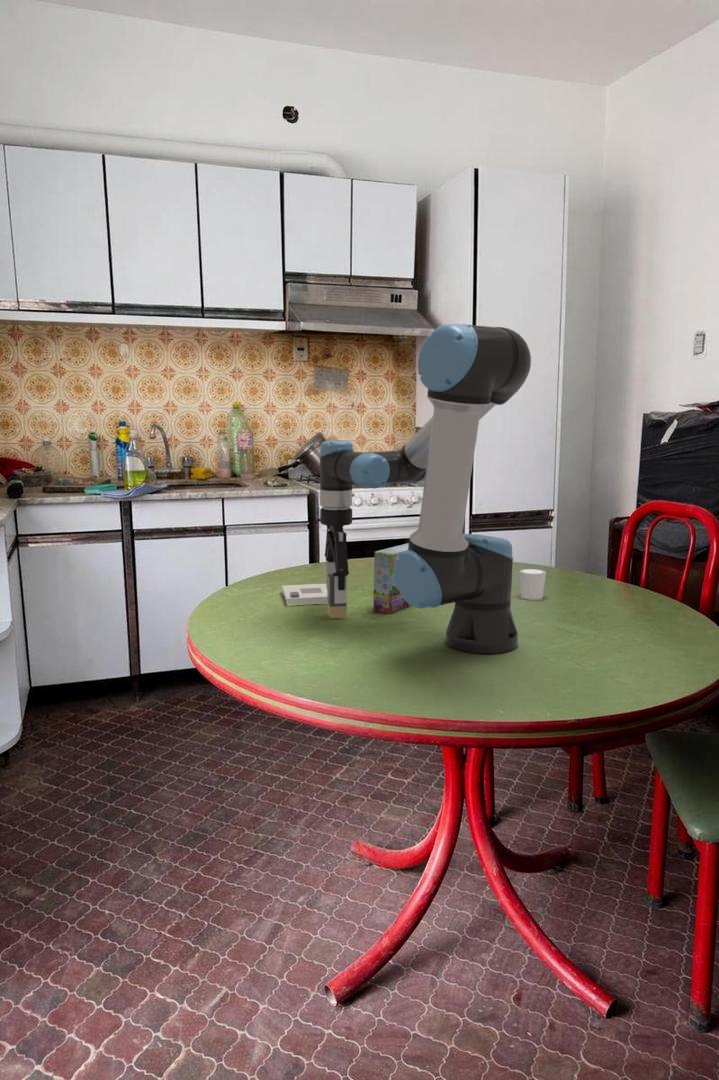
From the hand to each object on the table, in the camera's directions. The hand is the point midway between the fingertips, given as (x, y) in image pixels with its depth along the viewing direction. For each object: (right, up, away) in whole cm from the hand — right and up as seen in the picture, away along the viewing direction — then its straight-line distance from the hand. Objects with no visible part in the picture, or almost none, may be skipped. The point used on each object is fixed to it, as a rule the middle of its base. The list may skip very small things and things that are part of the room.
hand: (336, 595), depth 181 cm
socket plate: (-7, -2, +17) cm, 19 cm away
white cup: (+51, -2, +18) cm, 54 cm away
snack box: (+17, -3, +12) cm, 21 cm away
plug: (0, -5, +1) cm, 5 cm away
